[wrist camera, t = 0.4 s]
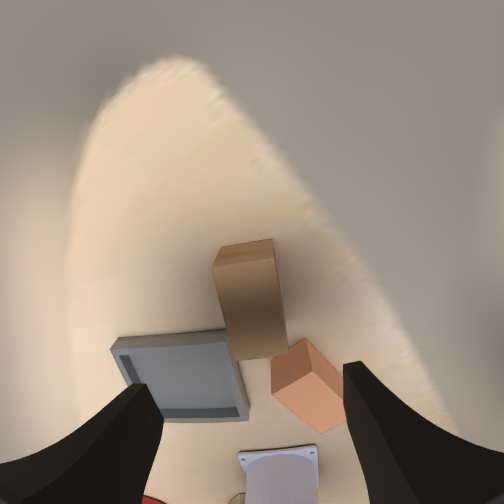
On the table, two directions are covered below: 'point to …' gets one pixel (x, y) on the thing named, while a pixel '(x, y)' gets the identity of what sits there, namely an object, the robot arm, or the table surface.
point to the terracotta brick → (308, 386)
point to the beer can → (150, 501)
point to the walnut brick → (251, 300)
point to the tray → (186, 375)
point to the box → (238, 499)
